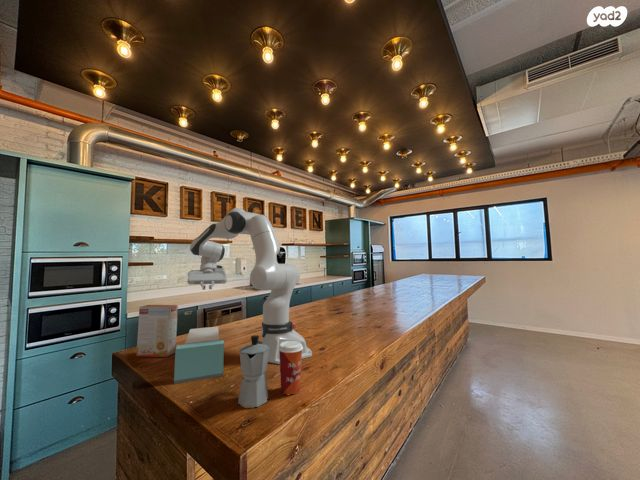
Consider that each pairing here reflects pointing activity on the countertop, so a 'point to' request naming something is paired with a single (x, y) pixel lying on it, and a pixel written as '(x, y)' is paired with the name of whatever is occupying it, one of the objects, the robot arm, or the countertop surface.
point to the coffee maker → (253, 373)
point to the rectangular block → (198, 361)
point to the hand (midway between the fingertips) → (207, 288)
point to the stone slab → (202, 335)
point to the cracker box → (157, 330)
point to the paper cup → (290, 366)
